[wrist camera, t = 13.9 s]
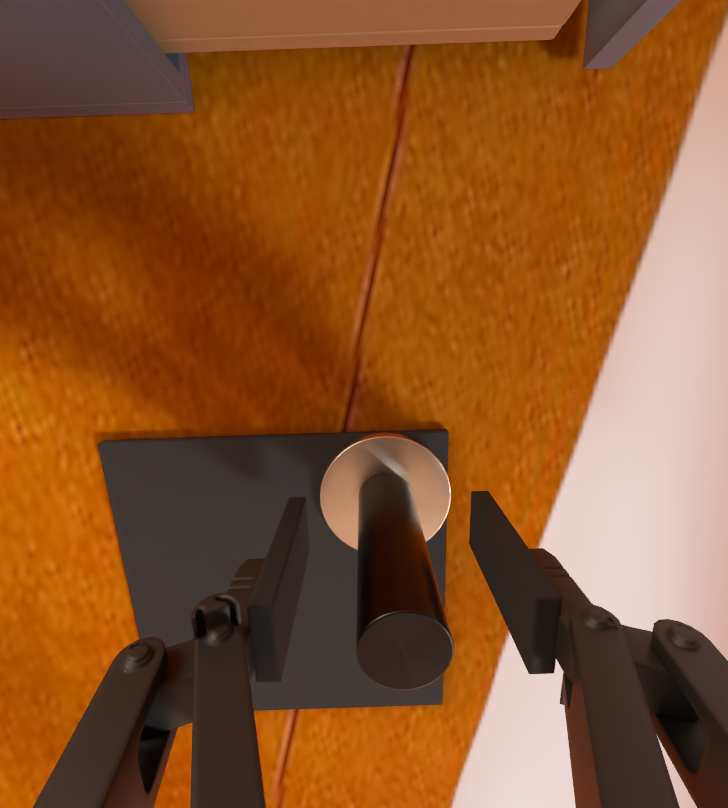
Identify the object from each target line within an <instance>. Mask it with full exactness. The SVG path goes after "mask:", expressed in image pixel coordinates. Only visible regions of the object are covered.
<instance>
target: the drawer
mask: <svg viewBox="0 0 728 808" xmlns="http://www.w3.org/2000/svg"><path fill="white" fill-rule="evenodd" d="M124 1H125V3H126V4H127V5H128V7H129V8H130V9H131V11H132V12H133V13H134V14H135V16H136V17H137V18H138V20H139V21H140V22H141V24H142V25H143V26H144V27H145V29H146V30H147V31H148V33H149V34H150V35H151V37H152V38H153V39H154V40H155V42H156V43H157V44H158V46H159V47H160V48H161V50H162V51H163V52H164V53H191V52H219V51H247V50H276V49H304V48H332V47H360V46H389V45H417V44H445V43H474V42H502V41H530V40H552V39H554V37H555V36H556V34H557V33H558V32H559V30H560V29H561V27H562V25H564V24H565V23H566V21H567V20H568V18H569V17H570V16H571V14H572V13H573V11H574V10H575V9H576V7H577V6H578V4H579V3H580V1H581V0H124ZM681 1H682V0H589V7H588V18H587V29H586V40H585V51H584V62H583V69H599V68H612V67H613V66H615V65H616V64H617V63H618V62H619V61H620V60H621V59H622V58H623V57H624V56H625V55H626V54H627V53H628V52H629V51H630V50H631V49H632V48H633V47H634V46H635V45H636V44H637V43H638V42H639V41H640V40H641V39H642V38H644V37H645V36H646V35H647V34H648V33H649V32H650V31H651V30H652V29H653V28H654V27H655V26H656V25H657V24H658V23H659V22H660V21H661V20H662V19H663V18H664V17H665V16H666V15H667V14H668V13H669V12H670V11H671V10H673V9H674V8H675V7H676V6H677V5H678V4H679V3H680V2H681Z"/></svg>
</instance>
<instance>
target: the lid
mask: <svg viewBox="0 0 728 808" xmlns="http://www.w3.org/2000/svg"><path fill="white" fill-rule="evenodd" d="M450 502H451V487H450V482H449V478H448V475H447V472H446V471H445V469H444V467H443V465H442V463H441V461H440V460H439V458H438V457H437V456H436V455H435V454H434V453H433V451H432V450H431V449H429V448H428V447H427V446H426V445H424V444H423V443H421V442H419V441H418V440H416V439H413V438H411V437H408V436H405V435H401V434H395V433H377V434H371V435H367V436H364V437H361V438H358V439H356V440H354V441H352V442H351V443H349V444H348V445H346V446H345V447H343V448H342V449H341V450H340V451H339V452H338V453H337V454H336V455H335V456H334V457H333V459H332V460H331V462H330V463H329V465H328V466H327V469H326V471H325V473H324V476H323V479H322V483H321V489H320V503H321V509H322V513H323V516H324V518H325V520H326V522H327V524H328V526H329V527H330V529H331V530H332V531H333V532H334V534H335V535H336V536H337V537H338V538H339V539H340V540H342V541H343V542H344V543H346V544H347V545H349V546H350V547H352V548H354V549H356V550H358V565H357V627H356V655H357V660H358V663H359V665H360V667H361V669H362V670H363V672H364V673H365V674H366V675H367V676H368V677H369V678H370V679H371V680H373V681H374V682H376V683H377V684H379V685H382V686H384V687H387V688H391V689H397V690H410V689H416V688H420V687H423V686H426V685H428V684H430V683H432V682H434V681H435V680H437V679H438V678H439V677H440V676H441V675H443V673H444V672H445V671H446V670H447V668H448V667H449V665H450V663H451V661H452V657H453V651H454V644H453V639H452V635H451V632H450V628H449V624H448V621H447V617H446V613H445V610H444V606H443V603H442V599H441V595H440V592H439V588H438V584H437V581H436V577H435V574H434V570H433V566H432V563H431V559H430V555H429V552H428V548H427V545H426V542H427V541H428V540H429V539H430V538H431V537H432V536H433V535H434V534H435V533H436V532H437V531H438V530H439V528H440V527H441V526H442V524H443V522H444V521H445V519H446V516H447V514H448V511H449V507H450Z"/></svg>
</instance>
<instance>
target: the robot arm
mask: <svg viewBox="0 0 728 808" xmlns="http://www.w3.org/2000/svg"><path fill="white" fill-rule="evenodd" d="M469 544H470V546H471V549H472V551H473V553H474V555H475V557H476V560H477V562H478V564H479V566H480V568H481V570H482V573H483V575H484V577H485V579H486V581H487V583H488V586H489V588H490V590H491V592H492V594H493V596H494V599H495V601H496V603H497V605H498V607H499V610H500V612H501V614H502V616H503V618H504V620H505V623H506V625H507V627H508V629H509V631H510V633H511V636H512V638H513V640H514V642H515V644H516V646H517V649H518V651H519V653H520V655H521V657H522V660H523V662H524V664H525V666H526V668H527V670H528V673H529V674H543V673H544V674H546V673H554V669H555V659H557V661H558V662H559V664H560V666H561V668H562V669H563V671H564V673H563V681H562V689H561V698H560V704H563V705H564V704H565V713H566V722H567V731H568V740H569V749H570V759H571V768H572V776H573V786H574V794H575V804H576V808H680V807H679V805H678V802H677V798H676V795H675V792H674V789H673V785H672V782H671V779H670V776H669V773H668V770H667V766H666V764H665V760H664V757H663V754H662V751H661V748H660V744H659V741H658V738H659V740H660V741H661V743H662V745H663V747H664V748H665V750H666V752H667V754H668V756H669V757H670V759H671V761H672V763H673V765H674V766H675V768H676V770H677V772H678V774H679V776H680V777H681V779H682V781H683V782H684V785H685V786H686V788H687V790H688V792H689V794H690V795H691V797H692V799H693V801H694V802H695V804H696V806H697V808H728V661H727V660H726V659H725V657H724V656H723V655H722V654H721V653H720V652H719V651H718V649H717V648H716V647H715V646H714V645H713V644H712V643H711V641H710V640H709V639H708V638H706V637H705V636H704V635H703V634H702V633H700V632H699V631H697V630H696V629H694V628H692V627H691V626H689V625H686V624H684V623H681V622H678V621H674V620H669V619H665V620H658V621H657V622H656V623H654V627H653V632H651V631H646V630H641V629H637V628H632V627H628V626H624V625H621V624H620V622H619V620H618V619H617V618H616V617H615V616H614V615H613V614H612V613H610V612H609V611H607V610H605V609H603V608H601V607H599V606H595V605H593V604H592V603H591V602H590V601H589V600H588V598H587V597H586V596H585V594H584V593H583V592H582V591H581V589H580V588H579V587H578V586H577V584H576V583H575V582H574V580H573V579H572V578H571V577H570V576H569V574H568V573H567V571H566V570H565V569H563V567H562V565H561V564H560V563H559V561H558V560H557V559H556V557H555V556H553V555H552V554H550V553H549V552H547V551H546V550H544V549H543V548H541V549H528V548H527V546H526V545H525V543H524V542H523V540H522V539H521V537H520V536H519V535H518V533H517V532H516V530H515V529H514V527H513V526H512V525H511V523H510V522H509V520H508V519H507V517H506V516H505V515H504V513H503V512H502V510H501V509H500V507H499V506H498V505H497V503H496V502H495V500H494V499H493V497H492V496H491V494H490V493H489V492H488V491H473V492H471V516H470V541H469ZM309 551H310V546H309V533H308V520H307V507H306V497H290V498H289V499H288V502H287V504H286V507H285V510H284V512H283V515H282V517H281V520H280V523H279V525H278V528H277V530H276V533H275V536H274V538H273V541H272V543H271V546H270V549H269V551H268V554H267V556H266V558H263V559H247V560H246V561H245V562H244V563H243V564H242V565H241V566H240V567H239V568H238V569H237V571H236V574H235V576H234V578H233V581H232V582H231V584H230V586H229V589H228V590H227V592H226V593H219V594H214V595H212V596H209V597H207V598H205V599H204V600H202V601H201V602H199V603H198V604H197V605H196V607H195V608H194V609H193V611H192V614H191V622H192V627H193V633H194V638H193V639H192V640H189V641H186V642H184V643H180V644H177V645H173V646H170V647H167V648H166V647H165V644H164V642H163V640H161V639H159V638H157V637H147V638H144V639H140V640H137V641H135V642H134V643H132V644H130V645H128V646H127V647H126V648H124V649H123V650H122V651H121V652H119V654H118V655H117V656H116V658H115V659H114V660H113V662H112V664H111V665H110V667H109V669H108V671H107V673H106V675H105V676H104V678H103V680H102V682H101V684H100V686H99V687H98V689H97V691H96V693H95V695H94V697H93V698H92V700H91V702H90V704H89V706H88V708H87V709H86V711H85V713H84V715H83V717H82V719H81V720H80V722H79V724H78V726H77V728H76V730H75V731H74V733H73V735H72V737H71V739H70V741H69V742H68V744H67V746H66V748H65V750H64V751H63V753H62V755H61V757H60V759H59V761H58V762H57V764H56V766H55V768H54V770H53V772H52V773H51V775H50V777H49V779H48V781H47V783H46V784H45V786H44V788H43V790H42V792H41V794H40V795H39V797H38V799H37V801H36V803H35V805H34V806H33V808H153V807H154V804H155V801H156V797H157V794H158V791H159V787H160V784H161V781H162V778H163V774H164V771H165V768H166V764H167V761H168V758H169V754H170V751H171V748H172V745H173V741H174V738H175V735H176V731H177V728H178V727H180V726H183V725H186V724H188V723H191V722H193V730H192V769H191V808H266V803H265V795H264V787H263V779H262V771H261V764H260V756H259V748H258V740H257V732H256V725H255V717H254V709H253V701H252V693H251V686H250V683H251V680H252V676H253V673H254V670H255V677H256V683H263V682H281V680H282V675H283V671H284V666H285V661H286V657H287V652H288V648H289V643H290V638H291V634H292V629H293V624H294V620H295V615H296V611H297V606H298V601H299V597H300V592H301V587H302V583H303V578H304V574H305V569H306V564H307V560H308V555H309ZM656 734H657V735H656ZM657 736H658V738H657Z"/></svg>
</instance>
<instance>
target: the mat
mask: <svg viewBox="0 0 728 808" xmlns="http://www.w3.org/2000/svg"><path fill="white" fill-rule="evenodd" d="M377 433H395V434H401V435H405V436H408V437H411V438H413V439H416V440H418V441H419V442H421V443H423V444H424V445H426V446H427V447H428V448H429V449H431V450H432V451H433V453H434V454H435V455H436V456H437V457H438V458H439V460H440V461H441V463H442V465H443V467H444V469H445V471H446V472H447V475H448V433H449V432H448V431H447V429H433V430H403V431H373V432H343V433H313V434H282V435H252V436H222V437H192V438H162V439H132V440H104V441H102V442H100V443H98V448H99V452H100V457H101V461H102V466H103V471H104V475H105V480H106V485H107V489H108V494H109V498H110V503H111V508H112V512H113V517H114V521H115V526H116V531H117V535H118V540H119V544H120V549H121V554H122V558H123V563H124V567H125V572H126V577H127V581H128V586H129V590H130V595H131V600H132V604H133V609H134V614H135V618H136V623H137V627H138V632H139V637H140V639H144V638H147V637H157V638H159V639H161V640H163V642H164V644H165V647H166V648H167V647H170V646H173V645H177V644H180V643H184V642H186V641H189V640H192V639H193V638H194V633H193V627H192V622H191V614H192V611H193V609H194V608H195V607H196V605H197V604H198V603H199V602H201V601H202V600H204V599H205V598H207V597H209V596H212V595H214V594H219V593H226V592H227V590H228V589H229V586H230V584H231V582H232V581H233V578H234V576H235V574H236V571H237V569H238V568H239V567H240V566H241V565H242V564H243V563H244V562H245V561H246V560H247V559H263V558H266V556H267V554H268V551H269V549H270V546H271V543H272V541H273V538H274V536H275V533H276V530H277V528H278V525H279V523H280V520H281V517H282V515H283V512H284V510H285V507H286V504H287V502H288V499H289V498H290V497H306V507H307V520H308V533H309V546H310V551H309V555H308V560H307V564H306V569H305V574H304V578H303V583H302V587H301V592H300V597H299V601H298V606H297V611H296V615H295V620H294V624H293V629H292V634H291V638H290V643H289V648H288V652H287V657H286V661H285V666H284V671H283V675H282V680H281V682H263V683H256V677H255V670H254V673H253V676H252V680H251V683H250V686H251V693H252V701H253V709H254V710H283V709H314V708H346V707H378V706H409V705H441V704H442V695H443V675H441V676H440V677H439V678H438V679H437V680H435V681H434V682H432V683H430V684H428V685H426V686H423V687H420V688H416V689H410V690H397V689H391V688H387V687H384V686H382V685H379V684H377V683H376V682H374V681H373V680H371V679H370V678H369V677H368V676H367V675H366V674H365V673H364V672H363V670H362V669H361V667H360V665H359V663H358V660H357V655H356V627H357V565H358V550H356V549H354V548H352V547H350V546H349V545H347V544H346V543H344V542H343V541H342V540H340V539H339V538H338V537H337V536H336V535H335V534H334V532H333V531H332V530H331V529H330V527H329V526H328V524H327V522H326V520H325V518H324V516H323V513H322V509H321V503H320V489H321V483H322V479H323V476H324V473H325V471H326V469H327V466H328V465H329V463H330V462H331V460H332V459H333V457H334V456H335V455H336V454H337V453H338V452H339V451H340V450H341V449H342V448H343V447H345V446H346V445H348V444H349V443H351V442H352V441H354V440H356V439H358V438H361V437H364V436H367V435H371V434H377ZM446 520H447V516H446V519H445V521H444V522H443V524H442V526H441V527H440V528H439V530H438V531H437V532H436V533H435V534H434V535H433V536H432V537H431V538H430V539H429V540H428V541H427V542H426V545H427V548H428V552H429V555H430V559H431V563H432V566H433V570H434V574H435V577H436V581H437V584H438V588H439V592H440V595H441V599H442V603H443V606H444V608H445V564H446Z"/></svg>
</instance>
